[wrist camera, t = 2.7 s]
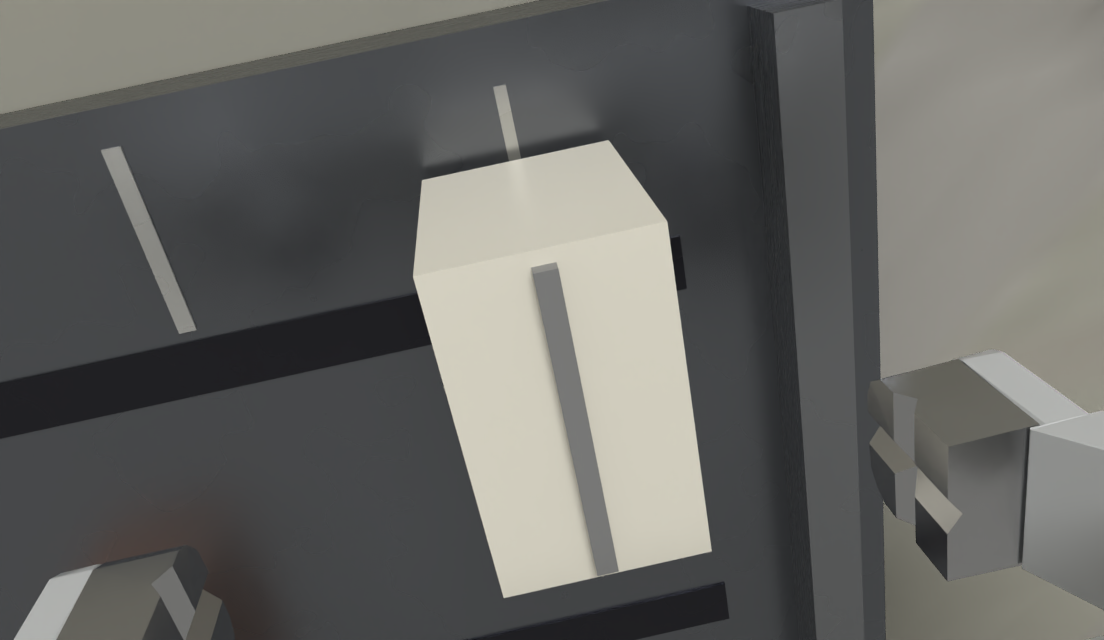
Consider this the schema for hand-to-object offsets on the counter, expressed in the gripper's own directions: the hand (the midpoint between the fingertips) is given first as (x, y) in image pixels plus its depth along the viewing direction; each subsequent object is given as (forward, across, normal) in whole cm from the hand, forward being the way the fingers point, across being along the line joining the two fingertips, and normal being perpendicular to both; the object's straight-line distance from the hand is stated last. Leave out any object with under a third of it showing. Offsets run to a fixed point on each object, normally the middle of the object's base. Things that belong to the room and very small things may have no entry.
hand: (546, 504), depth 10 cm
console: (+8, +5, +4) cm, 10 cm away
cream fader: (+5, -1, 0) cm, 5 cm away
